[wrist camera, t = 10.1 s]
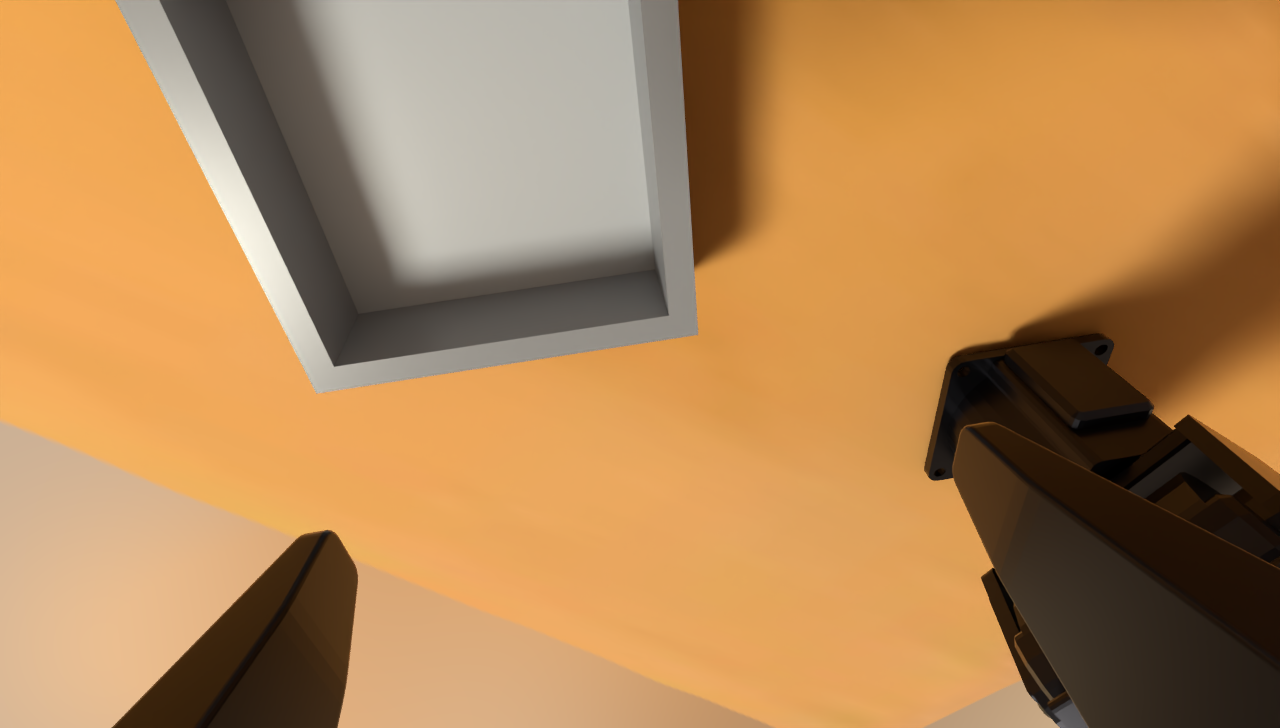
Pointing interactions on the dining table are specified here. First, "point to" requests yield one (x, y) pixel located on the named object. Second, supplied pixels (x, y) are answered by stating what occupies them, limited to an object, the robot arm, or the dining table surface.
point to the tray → (441, 172)
